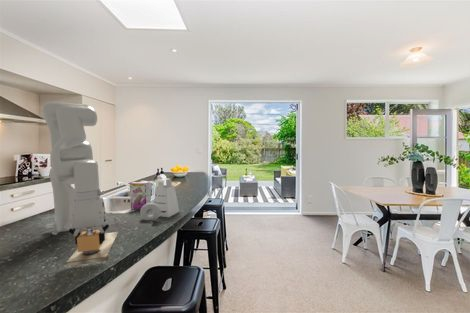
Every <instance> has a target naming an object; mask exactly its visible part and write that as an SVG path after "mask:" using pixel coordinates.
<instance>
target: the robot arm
mask: <svg viewBox="0 0 470 313" xmlns="http://www.w3.org/2000/svg"><path fill="white" fill-rule="evenodd" d="M42 114H43V115H42V116H43V118H44V121H45V123H46V125H47V126H48V129H49V131H50V133H49V134H50V143H51V145H50V146H51V152H50V156H49V157H50V158H49V160H50V166H51V168H50V170H49V178H50V182H51V188H52V194H53V205H54V220H55V222H54V223H47V224H45V226H44V227H45V229H46V230H51V229H52V230H51V234H52V235H53V236H57V235H58V234H59V233H60V232H67V231H68V232H69V234H72V235H73V237H74V240H75V245H76V248H78V246H77V238H78V236H79V235H80V234H81V233H82V232H81V231H82V229H87V228H89V227H93V228H95V227H96V229H97V228H98V229H99V231H100V234H99V242H100V244H102V243H103V241H105V233H106V231H107V230H108V229H109V227H110V226H111V225H112V224H113V223H114V219H113V218H111V217H110V216H108V215H107V214H106V208H105V206H106V205H105V202H104V199H103V197H102V196H103V195H105V191H103V190H101V189H100V176H99V164H98V162H97V161H95V160H94V156H93V154H94V153H93V148H92V144H91V143H90V142H88V141H86V139H87V135H86V131H85V127H94V126H96V125H97V123H98V114H97V112H96V110H95V108H94V107H92V106H91V105H88V104H85V103H72V102H65V101H64V102H63V101H48V102H46V103H44V104H43V105H42ZM72 185H74V187H73V186H72ZM106 222H107V223H106ZM105 223H106V224H105ZM104 224H105V225H104Z"/></svg>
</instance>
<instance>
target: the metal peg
mask: <svg viewBox="0 0 470 313" xmlns="http://www.w3.org/2000/svg"><path fill="white" fill-rule="evenodd" d="M85 230H86V233H87V236H88V235H94V231H93V230H94V227H89V228H85ZM98 252H99V249H98V250H91V251H84V252H83V255H84V256H89V255H94V254H96V253H98Z"/></svg>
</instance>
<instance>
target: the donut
mask: <svg viewBox="0 0 470 313" xmlns="http://www.w3.org/2000/svg"><path fill="white" fill-rule="evenodd" d="M157 204H158V203H157ZM157 204H155V203H154V202H150V203H147V204H145V205H144V206H143V207H142V208H141V209H139V214H140V215H139V216H140V218H141V219H142V220H143V221H152V222H155V221H157V219H159V217H160V216H159V215H160V208H159V206H158V205H157ZM149 210H152V211H154V213H153V212H152V214H150V215H149V214H148V211H149Z"/></svg>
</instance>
